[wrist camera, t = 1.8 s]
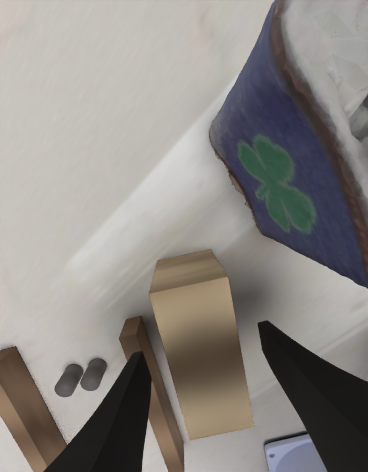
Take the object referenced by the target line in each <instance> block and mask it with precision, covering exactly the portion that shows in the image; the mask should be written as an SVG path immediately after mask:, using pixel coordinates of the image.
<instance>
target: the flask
mask: <svg viewBox="0 0 368 472" xmlns="http://www.w3.org/2000/svg"><path fill="white" fill-rule="evenodd" d="M209 137H210V140H211V143H212V146H213V148H214V151H215V154H216V156H217V158H218V159H222V161H223V162H224V164H225V166H226V168H227V169H228V172H229V177H230V179H231V180H232V184H233V185H234V186H235V188H236V190H238V192H239V191H240V193H242V194H243V195H244V196H245V198H246V203H245V205H247V206H248V207H249V208H250V209H251V210H252V212H253V219H254V221H255V223H256V225H257V227H258V229H259V232H260V233H261V234H263V235H264V236H266V237H269V238H271V239H274V240H276V241H277V242H280V243H282V244H284V245H286V246H287V247H289V248H291V249H292V250H294V251H296V252H298V253H300V254H302V255H305V256H306V257H308V258H311V259H312V260H314V261H316V262H318V263H320V264H322V265H324V266H327V267H328V268H329V269H331V270H333V271H335V272H337V273H338V274H340V275H342V276H345V277H348V278H349V279H351V280H353V281H354V282H355V283H356V284H358V285H361V286H364V287H366V288H367V289H368V0H275V1H274V2H273V4H272V5H271V8H270V10H269V12H268V14H267V16H266V19H265V22H264V24H263V27H262V30H261V33H260V35H259V37H258V40H257V42H256V44H255V46H254V48H253V50H252V52H251V54H250V56H249V58H248V60H247V62H246V64H245V65H244V67H243V69H242V71H241V73H240V74H239V76H238V78H237V80H236V83H235V85H234V86H233V88H232V89H231V91H230V92H229V94H228V95H227V97H226V100H225V102H224V104H223V106H222V108H221V109H220V111H219V112H218V114H217V116H216V117H215V119H214V120H213V122H212V125H211V128H210V134H209Z"/></svg>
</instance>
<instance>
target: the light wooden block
mask: <svg viewBox="0 0 368 472" xmlns="http://www.w3.org/2000/svg"><path fill="white" fill-rule="evenodd" d="M149 297H150V300H151V304H152V307H153V311H154V314H155V318H156V322H157V325H158V329H159V332H160V336H161V340H162V343H163V347H164V350H165V354H166V357H167V361H168V365H169V368H170V372H171V375H172V379H173V383H174V386H175V390H176V393H177V397H178V400H179V404H180V408H181V411H182V415H183V418H184V422H185V425H186V429H187V433H188V436H189V440H194V439H199V438H204V437H209V436H213V435H218V434H223V433H227V432H232V431H237V430H241V429H246V428H251V427H254V422H253V416H252V411H251V405H250V399H249V394H248V388H247V382H246V376H245V371H244V365H243V359H242V354H241V348H240V342H239V336H238V331H237V325H236V319H235V313H234V308H233V302H232V296H231V291H230V285H229V279H228V276H227V274H226V273H225V271H224V270H223V268H222V266H221V265H220V263H219V262H218V260H217V258H216V257H215V255H214V254H213V252H212V250H211V249H209V250H205V251H200V252H195V253H191V254H186V255H181V256H177V257H172V258H168V259H163V260H158V261H157V265H156V269H155V272H154V276H153V280H152V284H151V287H150V291H149Z"/></svg>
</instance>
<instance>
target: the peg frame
mask: <svg viewBox="0 0 368 472" xmlns="http://www.w3.org/2000/svg"><path fill="white" fill-rule="evenodd" d="M119 340H120V343H121V345H122V348H123V351H124V353H125V356H126V359H127V362H128V360H129V358H130V357H131V355H132V354H133V353H135V352H139V351H143V354H144V357H145V359H146V362H147V365H148V368H149V371H150V374H151V377H152V383H151V400H150V408H149V415H148V418H149V421H150V423H151V426H152V429H153V431H154V434H155V437H156V439H157V442H158V445H159V448H160V450H161V453H162V456H163V458H164V461H165V464H166V466H167V469H168V472H184V444H183V441H182V438H181V435H180V432H179V429H178V426H177V423H176V420H175V417H174V414H173V411H172V408H171V405H170V402H169V399H168V396H167V393H166V390H165V387H164V384H163V381H162V378H161V375H160V372H159V369H158V366H157V363H156V360H155V357H154V354H153V351H152V348H151V345H150V342H149V339H148V336H147V333H146V330H145V327H144V324H143V321H142V318H141V316H139V317H135V318H131V319H127V320H126V321H125V324H124V327H123V329H122V332H121V334H120V337H119ZM105 370H106V363H105V362H104V361H103V360H101V359H94V360H92V361H91V362H90V363H89V365H88V367H87V369H86V371H85V373H84V375H83V369H82V368H81V367H80V366H78V365H69V366H68V367H67V368H66V370H65V371H64V373H63V374H62V376H61V378H60V379H59V381H58V382H57V384H56V386H55V392H56V394H57V395H59V396H61V397H69V396H71V395H72V394H73V392H74V390H75V388H76V386H77V384H78V382H79V380H80V379H81V377H82V375H83V377H82V379H81V382H80V384H81V387H82V388H83V389H85V390H87V391H94V390H96V389H97V388H98V387H99V385H100V383H101V380H102V377H103V375H104V372H105ZM0 416H1V417H2V419H3V421H4V422H5V424H6V426H7V427H8V429H9V431H10V433H11V434H12V436H13V438H14V439H15V441H16V443H17V444H18V446H19V448H20V449H21V451H22V453H23V454H24V456H25V458H26V459H27V461H28V463H29V465H30V466H31V468H32V470H33V471H34V472H43V471H44V470H45V469H46V468H47V467H48V466H49V465H50V464H51V463H52V462H53V461H54V460H55V459H56V457H57V456H58V455H59V454H60V453H61V452H62V451H63V450H64V449H65V447H66V446H67V445H66V443H65V441H64V439H63V438H62V436H61V434H60V432H59V430H58V428H57V426H56V424H55V422H54V420H53V418H52V416H51V414H50V412H49V410H48V409H47V407H46V405H45V403H44V401H43V399H42V397H41V395H40V393H39V391H38V389H37V387H36V385H35V383H34V381H33V380H32V378H31V376H30V374H29V372H28V370H27V368H26V366H25V364H24V362H23V360H22V358H21V356H20V354H19V352H18V351H17V349H16V347H12V348H8V349H4V350H1V351H0Z"/></svg>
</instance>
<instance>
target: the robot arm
mask: <svg viewBox="0 0 368 472" xmlns="http://www.w3.org/2000/svg"><path fill="white" fill-rule="evenodd" d="M258 329H259V334H260V340H261V345H262V351H263V353H264V355H265V357H266V359H267V361H268V363H269V366H270V368H271V369H272V371H273V373H274V375H275V376H276V378H277V380H278V381H279V383H280V385H281V386H282V388H283V390H284V391H285V393H286V395H287V396H288V398H289V400H290V401H291V403H292V405H293V406H294V408H295V410H296V411H297V413H298V415H299V417H300V418H301V420H302V422H303V424H304V426H305V428H306V430H307V432H308V434H306V435H302V436H297V437H293V438H289V439H285V440H280V441H276V442H272V443H268V444H266V445H265V448H264V449H265V454H266V458H267V463H268V468H269V472H368V382H367V381H364V380H362V379H360V378H358V377H356V376H354V375H352V374H350V373H348V372H346V371H344V370H342V369H340V368H338V367H336V366H334V365H332V364H331V363H329V362H327V361H325V360H324V359H322V358H320V357H319V356H317V355H315V354H314V353H312V352H311V351H309V350H307V349H306V348H304V347H303V346H301V345H300V344H299V343H297V342H296V341H294V340H293V339H291V338H290V337H289V336H287V335H286V334H285V333H283V332H282V331H281V330H279V329H278V328H277V327H275V326H274V325H273V324H272V323H270V322H269V321H263V322H259V323H258ZM151 383H152V377H151V374H150V371H149V368H148V365H147V362H146V359H145V357H144V354H143V351H139V352H135V353H133V354H132V355H131V357H130V358H129V360H128V362H127V363H126V365H125V367H124V368H123V370H122V372H121V373H120V375H119V376H118V378H117V380H116V381H115V383H114V384H113V386H112V388H111V389H110V391H109V392H108V394H107V395H106V397H105V398H104V399H103V401H102V402H101V404H100V405H99V407H98V408H97V409H96V411H95V412H94V414H93V415H92V416H91V417H90V419H89V420H88V421H87V423H86V424H85V425H84V426H83V428H82V429H81V430H80V431H79V432H78V434H77V435H76V436H75V437H74V438H73V439H72V441H71V442H70V443H69V444H68V445H67V446H66V447H65V449H64V450H63V451H62V452H61V453H60V454H59V455H58V456H57V457H56V459H55V460H54V461H53V462H52V463H51V464H50V465H49V466H48V467H47V468H46V469H45V470H44V471H43V472H142V459H143V450H144V443H145V436H146V429H147V422H148V415H149V408H150V400H151Z"/></svg>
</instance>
